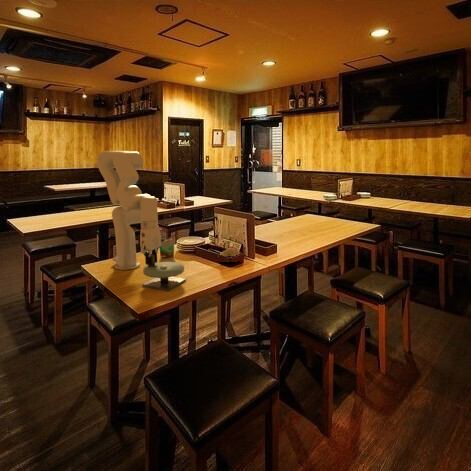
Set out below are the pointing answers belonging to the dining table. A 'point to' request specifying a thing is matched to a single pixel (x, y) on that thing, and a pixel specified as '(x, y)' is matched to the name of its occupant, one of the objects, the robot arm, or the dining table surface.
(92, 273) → the dining table surface
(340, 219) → the dining table surface
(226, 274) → the dining table surface
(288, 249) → the dining table surface
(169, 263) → the handwheel
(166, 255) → the food container
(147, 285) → the wheel stand
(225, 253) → the decorative item
